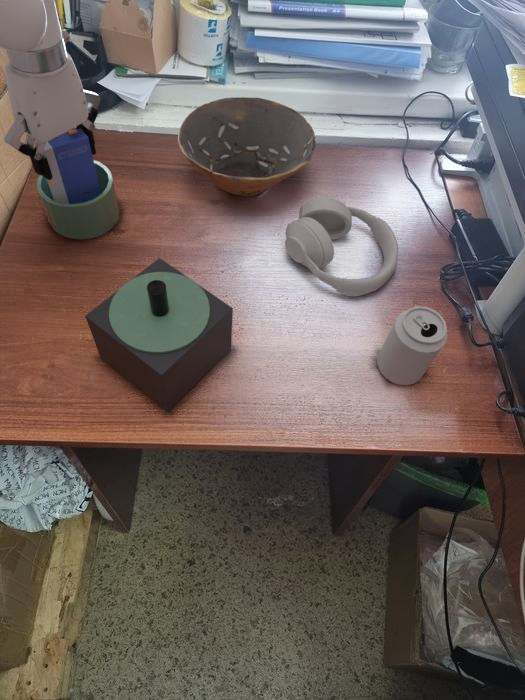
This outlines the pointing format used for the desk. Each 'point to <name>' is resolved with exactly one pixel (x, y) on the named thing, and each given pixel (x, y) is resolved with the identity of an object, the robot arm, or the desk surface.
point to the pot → (82, 209)
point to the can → (412, 345)
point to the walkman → (71, 168)
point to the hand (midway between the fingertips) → (67, 162)
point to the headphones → (332, 223)
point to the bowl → (246, 143)
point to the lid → (159, 312)
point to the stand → (167, 368)
